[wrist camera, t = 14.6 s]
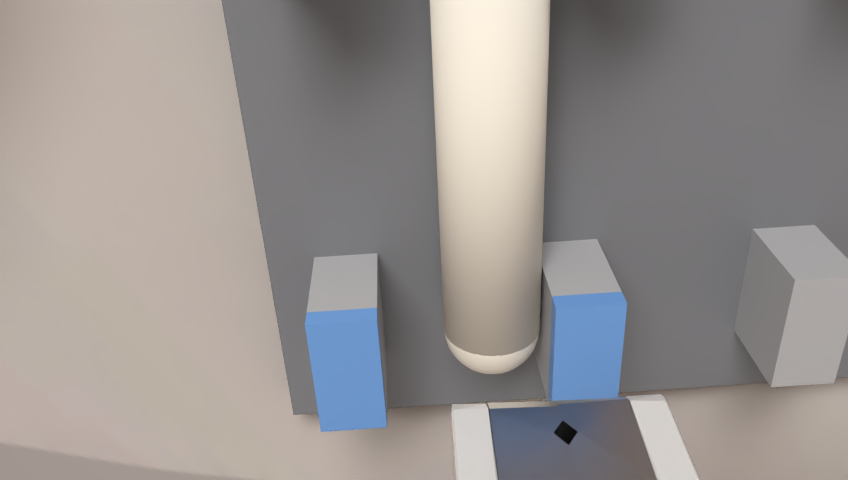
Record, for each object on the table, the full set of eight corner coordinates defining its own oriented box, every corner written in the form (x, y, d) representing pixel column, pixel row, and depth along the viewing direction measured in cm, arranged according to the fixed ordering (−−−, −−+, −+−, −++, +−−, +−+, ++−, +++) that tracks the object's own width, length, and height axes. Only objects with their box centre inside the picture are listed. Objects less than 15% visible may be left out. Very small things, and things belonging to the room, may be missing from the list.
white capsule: (394, -198, 18) (480, -199, 16) (495, -205, 19) (586, -208, 17) (427, 359, 26) (486, 408, 24) (496, 324, 27) (558, 367, 25)
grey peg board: (1287, -398, 19) (1639, -467, 13) (992, 349, 30) (1121, 469, 24) (172, -339, 18) (88, -388, 13) (296, 395, 29) (277, 529, 24)
